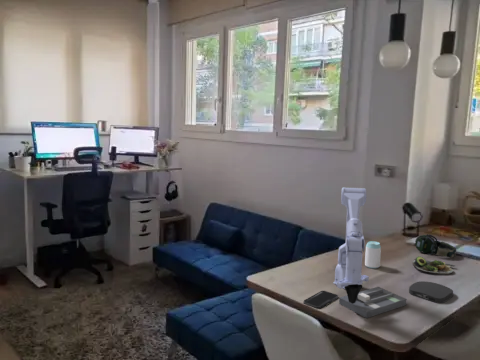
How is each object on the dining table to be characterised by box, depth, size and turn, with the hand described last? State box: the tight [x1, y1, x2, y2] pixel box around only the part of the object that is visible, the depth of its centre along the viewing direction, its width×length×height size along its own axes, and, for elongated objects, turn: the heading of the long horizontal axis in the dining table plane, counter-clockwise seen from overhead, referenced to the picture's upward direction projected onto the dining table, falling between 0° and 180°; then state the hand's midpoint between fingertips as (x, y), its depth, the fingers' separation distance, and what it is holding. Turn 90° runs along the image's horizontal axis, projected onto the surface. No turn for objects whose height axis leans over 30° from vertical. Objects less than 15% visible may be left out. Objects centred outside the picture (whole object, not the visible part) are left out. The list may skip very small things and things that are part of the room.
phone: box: [302, 290, 339, 310], centre depth 171 cm, size 8×1×15 cm
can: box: [364, 240, 382, 269], centre depth 209 cm, size 7×7×12 cm
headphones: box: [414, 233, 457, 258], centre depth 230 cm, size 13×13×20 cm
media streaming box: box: [408, 280, 454, 304], centre depth 178 cm, size 15×15×3 cm
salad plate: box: [412, 255, 456, 275], centre depth 207 cm, size 19×18×5 cm
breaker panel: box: [338, 286, 407, 319], centre depth 167 cm, size 14×22×4 cm, turn 121°
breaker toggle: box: [358, 293, 370, 302], centre depth 164 cm, size 4×2×2 cm, turn 31°
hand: (351, 302), depth 161 cm, fingers closed
